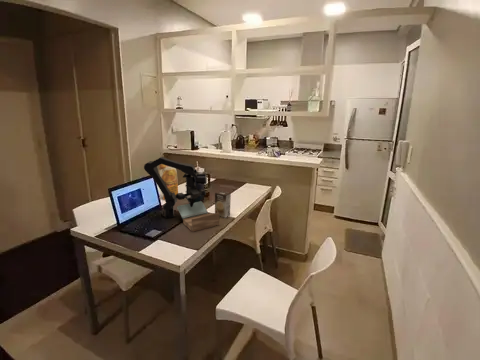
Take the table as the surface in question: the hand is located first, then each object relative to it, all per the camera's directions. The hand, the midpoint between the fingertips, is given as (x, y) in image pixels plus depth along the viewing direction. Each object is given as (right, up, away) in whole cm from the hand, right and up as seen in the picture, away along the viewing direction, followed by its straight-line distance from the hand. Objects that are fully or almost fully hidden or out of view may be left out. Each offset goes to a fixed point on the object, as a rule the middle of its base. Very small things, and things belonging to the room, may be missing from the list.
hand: (191, 206), depth 178 cm
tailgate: (+3, -5, -4) cm, 7 cm away
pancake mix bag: (-24, +4, +38) cm, 45 cm away
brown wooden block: (+8, -10, -9) cm, 15 cm away
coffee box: (+20, -6, +6) cm, 22 cm away
